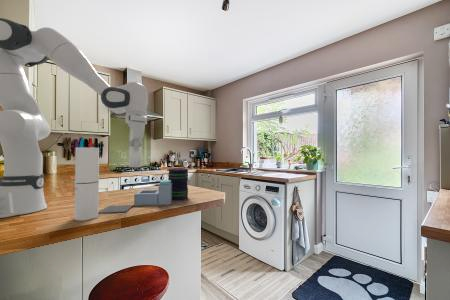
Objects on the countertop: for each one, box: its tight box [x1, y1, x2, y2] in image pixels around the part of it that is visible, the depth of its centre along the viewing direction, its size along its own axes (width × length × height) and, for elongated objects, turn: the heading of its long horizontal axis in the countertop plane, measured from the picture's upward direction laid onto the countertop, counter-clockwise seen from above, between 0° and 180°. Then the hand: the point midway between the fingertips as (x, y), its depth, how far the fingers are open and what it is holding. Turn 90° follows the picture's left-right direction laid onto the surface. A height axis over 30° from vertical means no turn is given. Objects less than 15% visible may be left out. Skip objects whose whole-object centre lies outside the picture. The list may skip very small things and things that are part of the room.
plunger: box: [159, 179, 171, 185], centre depth 94 cm, size 4×4×7 cm
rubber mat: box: [98, 204, 134, 215], centre depth 84 cm, size 10×10×1 cm
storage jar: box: [168, 168, 189, 202], centre depth 105 cm, size 10×10×15 cm
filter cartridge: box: [128, 141, 143, 168], centre depth 91 cm, size 5×5×11 cm
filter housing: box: [133, 183, 172, 207], centre depth 96 cm, size 16×11×9 cm
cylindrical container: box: [73, 146, 100, 221], centre depth 74 cm, size 7×7×25 cm
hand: (135, 150), depth 91 cm, fingers closed on filter cartridge, 5 cm apart
